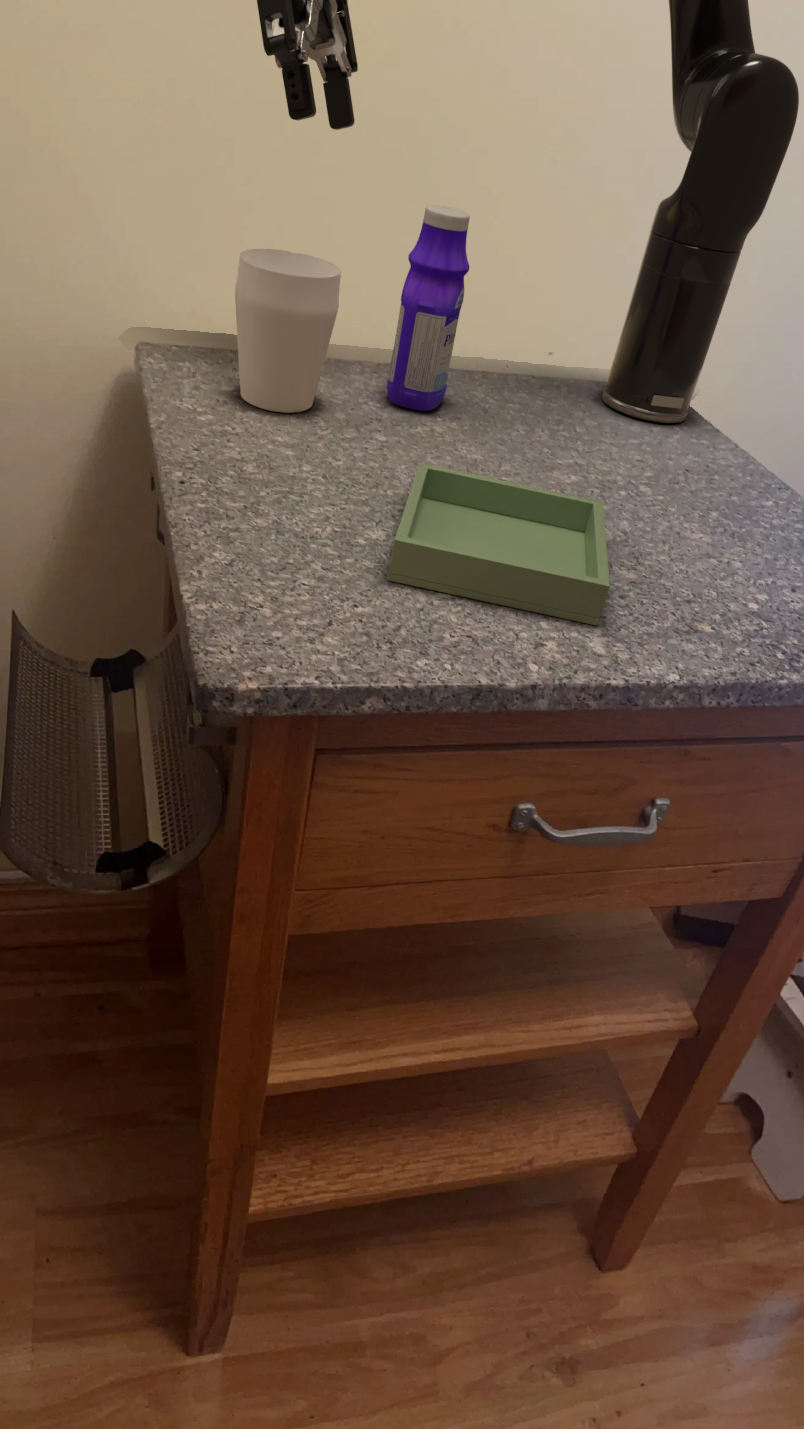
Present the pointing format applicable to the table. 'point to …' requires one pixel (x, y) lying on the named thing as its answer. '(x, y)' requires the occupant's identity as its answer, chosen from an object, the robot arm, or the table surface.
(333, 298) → the cup
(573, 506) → the tray
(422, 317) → the bottle
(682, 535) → the table surface
